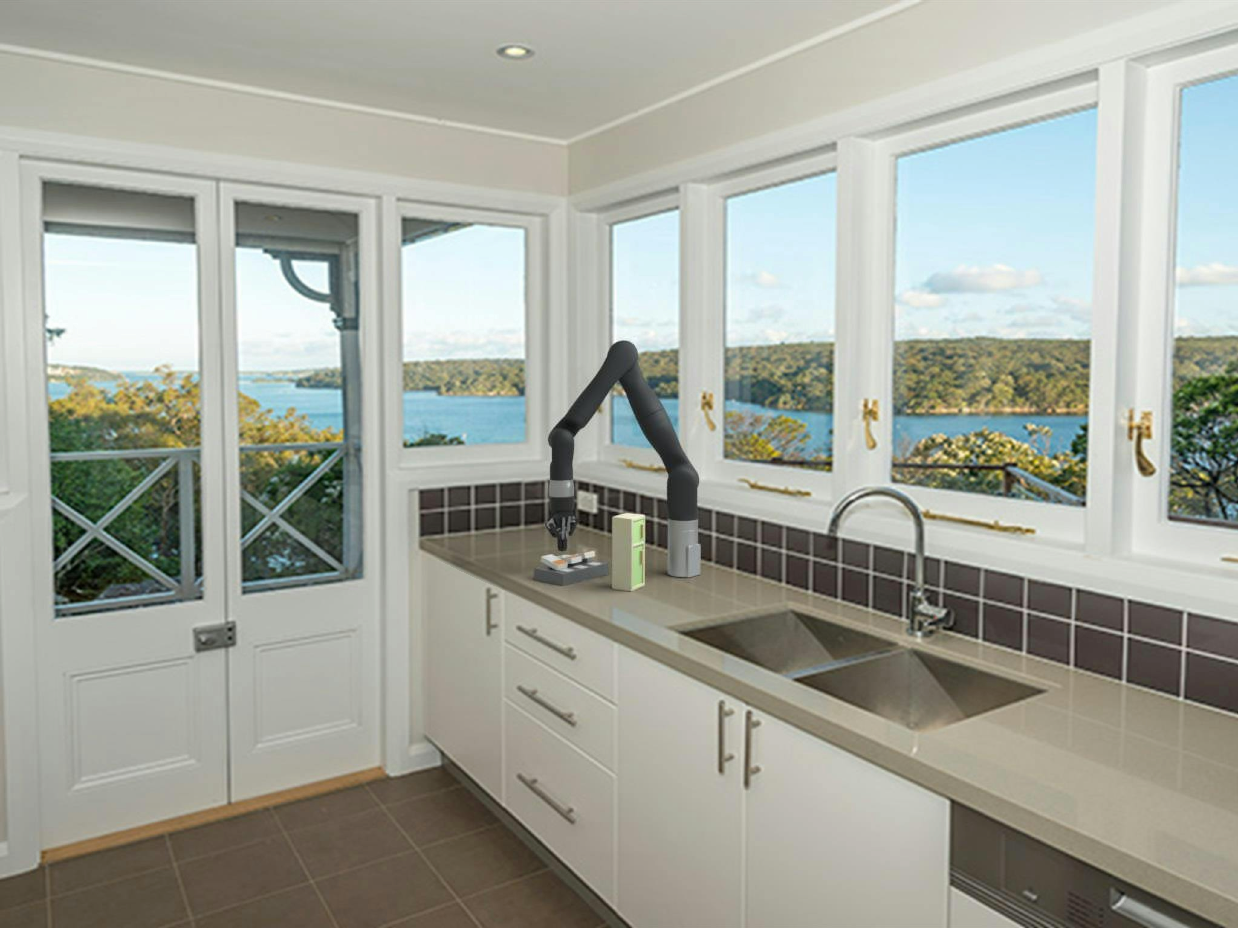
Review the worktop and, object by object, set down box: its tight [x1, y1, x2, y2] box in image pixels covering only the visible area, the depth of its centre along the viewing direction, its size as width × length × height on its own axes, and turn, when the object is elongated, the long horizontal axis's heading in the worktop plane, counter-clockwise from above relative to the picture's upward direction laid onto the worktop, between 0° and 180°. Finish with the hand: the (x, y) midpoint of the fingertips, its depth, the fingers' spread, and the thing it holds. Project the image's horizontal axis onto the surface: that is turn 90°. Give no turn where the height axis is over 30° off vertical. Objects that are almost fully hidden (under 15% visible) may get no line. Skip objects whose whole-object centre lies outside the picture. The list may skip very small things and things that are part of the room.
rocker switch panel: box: [533, 558, 610, 587], centre depth 285 cm, size 12×24×4 cm, turn 139°
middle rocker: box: [555, 554, 582, 564], centre depth 284 cm, size 7×4×2 cm, turn 49°
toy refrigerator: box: [611, 512, 646, 592], centre depth 269 cm, size 8×7×21 cm
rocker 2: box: [573, 550, 596, 559], centre depth 289 cm, size 7×4×2 cm, turn 49°
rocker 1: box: [540, 553, 568, 570], centre depth 280 cm, size 7×4×2 cm, turn 50°
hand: (562, 550), depth 286 cm, fingers closed
